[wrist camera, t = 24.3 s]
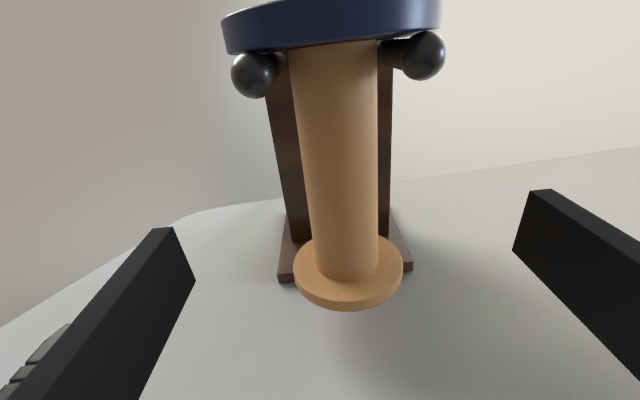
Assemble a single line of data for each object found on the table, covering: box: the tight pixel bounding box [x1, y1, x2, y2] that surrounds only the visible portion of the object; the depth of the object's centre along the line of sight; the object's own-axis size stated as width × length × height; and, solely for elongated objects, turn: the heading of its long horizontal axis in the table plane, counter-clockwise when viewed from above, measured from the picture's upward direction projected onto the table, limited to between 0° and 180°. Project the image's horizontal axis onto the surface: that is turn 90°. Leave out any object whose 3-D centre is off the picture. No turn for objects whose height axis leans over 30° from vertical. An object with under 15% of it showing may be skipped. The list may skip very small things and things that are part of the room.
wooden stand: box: [231, 31, 447, 283], centre depth 21 cm, size 17×11×17 cm, turn 1°
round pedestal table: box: [221, 0, 443, 312], centre depth 15 cm, size 9×9×14 cm
